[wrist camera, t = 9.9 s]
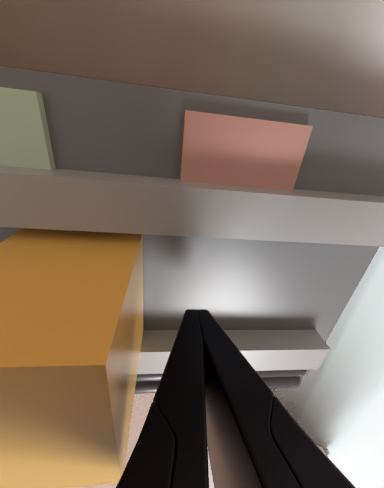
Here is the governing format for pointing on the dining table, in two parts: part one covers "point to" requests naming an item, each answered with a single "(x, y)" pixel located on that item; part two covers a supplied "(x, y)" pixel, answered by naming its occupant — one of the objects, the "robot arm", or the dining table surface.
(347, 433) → the dining table surface
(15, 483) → the toggle
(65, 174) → the panel
